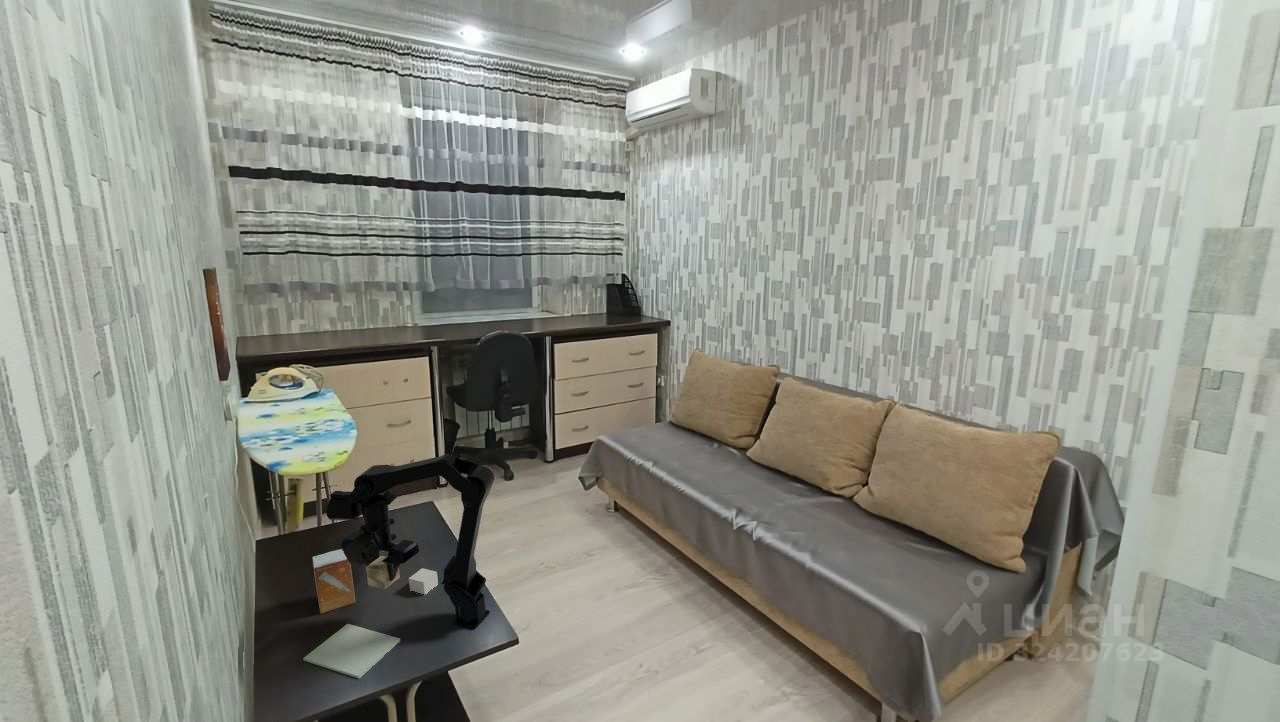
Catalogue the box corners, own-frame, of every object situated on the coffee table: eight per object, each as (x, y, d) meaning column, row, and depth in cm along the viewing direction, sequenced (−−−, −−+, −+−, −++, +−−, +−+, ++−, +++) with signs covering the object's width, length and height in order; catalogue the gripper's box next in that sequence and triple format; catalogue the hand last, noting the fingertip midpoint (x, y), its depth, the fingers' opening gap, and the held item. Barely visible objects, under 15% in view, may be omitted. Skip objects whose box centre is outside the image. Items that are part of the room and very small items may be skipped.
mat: (400, 640, 129) (400, 638, 129) (359, 678, 118) (358, 676, 118) (347, 625, 135) (347, 623, 134) (303, 660, 123) (303, 658, 123)
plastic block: (438, 585, 150) (436, 571, 149) (425, 595, 146) (423, 582, 145) (423, 581, 152) (422, 568, 151) (410, 591, 148) (408, 578, 147)
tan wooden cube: (399, 577, 137) (397, 559, 136) (384, 589, 132) (382, 570, 131) (383, 573, 139) (381, 555, 137) (368, 585, 134) (365, 566, 133)
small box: (320, 614, 139) (313, 568, 136) (318, 601, 144) (311, 556, 141) (356, 603, 143) (350, 557, 140) (353, 590, 148) (347, 546, 145)
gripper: (317, 529, 127) (326, 589, 131) (381, 543, 121) (389, 605, 125) (356, 507, 138) (364, 563, 141) (417, 519, 132) (423, 577, 135)
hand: (383, 577), depth 135 cm, fingers closed on tan wooden cube, 5 cm apart
